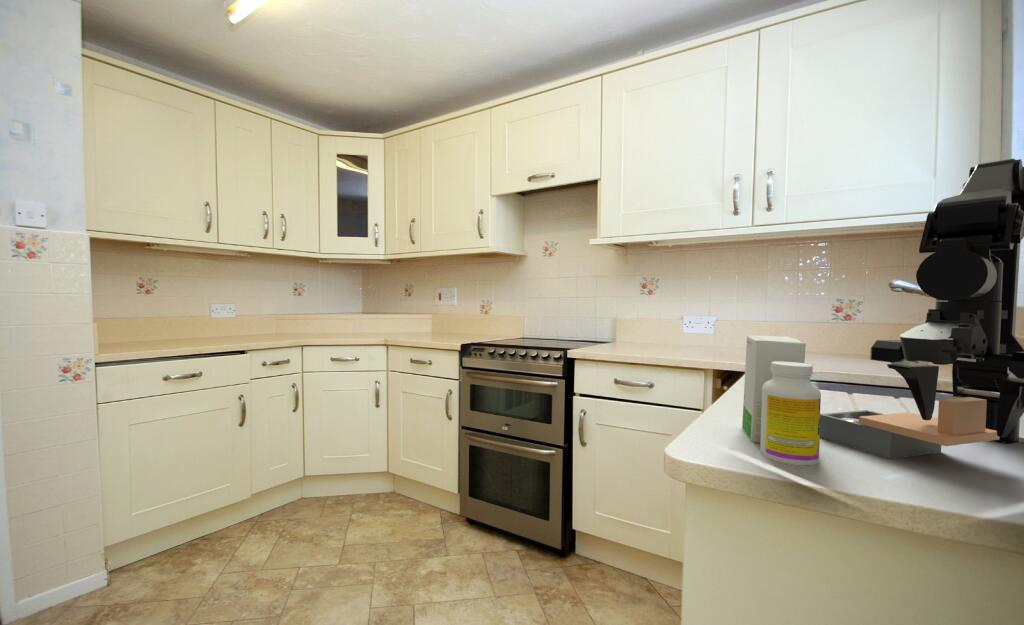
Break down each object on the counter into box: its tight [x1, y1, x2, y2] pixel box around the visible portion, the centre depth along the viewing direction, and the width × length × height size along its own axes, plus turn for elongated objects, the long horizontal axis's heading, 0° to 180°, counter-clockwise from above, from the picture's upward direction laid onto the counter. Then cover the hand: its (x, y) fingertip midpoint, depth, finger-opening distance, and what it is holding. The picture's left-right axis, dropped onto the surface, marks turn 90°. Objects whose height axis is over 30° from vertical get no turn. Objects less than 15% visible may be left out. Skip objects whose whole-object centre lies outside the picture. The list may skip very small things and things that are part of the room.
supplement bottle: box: [759, 361, 822, 466], centre depth 60 cm, size 7×7×13 cm
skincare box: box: [741, 334, 807, 443], centre depth 69 cm, size 8×7×16 cm
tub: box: [820, 409, 942, 460], centre depth 66 cm, size 10×10×4 cm
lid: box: [859, 397, 1000, 447], centre depth 60 cm, size 10×10×5 cm
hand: (962, 427), depth 56 cm, fingers open, 7 cm apart
